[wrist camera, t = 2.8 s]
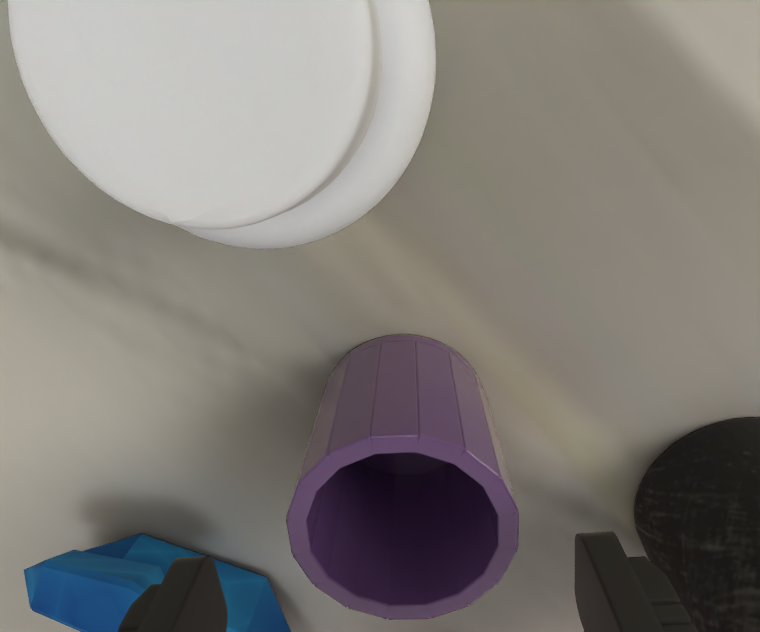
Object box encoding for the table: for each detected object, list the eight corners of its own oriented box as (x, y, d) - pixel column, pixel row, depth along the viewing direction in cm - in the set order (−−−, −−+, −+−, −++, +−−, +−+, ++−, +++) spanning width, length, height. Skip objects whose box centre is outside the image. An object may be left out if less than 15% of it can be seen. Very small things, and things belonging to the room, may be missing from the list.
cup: (443, 306, 17) (461, 398, 12) (510, 441, 19) (553, 579, 13) (293, 374, 19) (243, 488, 13) (368, 496, 20) (354, 644, 15)
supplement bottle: (465, 85, 15) (566, 41, 6) (331, 227, 17) (230, 383, 7) (315, -79, 14) (116, -496, 4) (186, 90, 16) (-167, 58, 6)
